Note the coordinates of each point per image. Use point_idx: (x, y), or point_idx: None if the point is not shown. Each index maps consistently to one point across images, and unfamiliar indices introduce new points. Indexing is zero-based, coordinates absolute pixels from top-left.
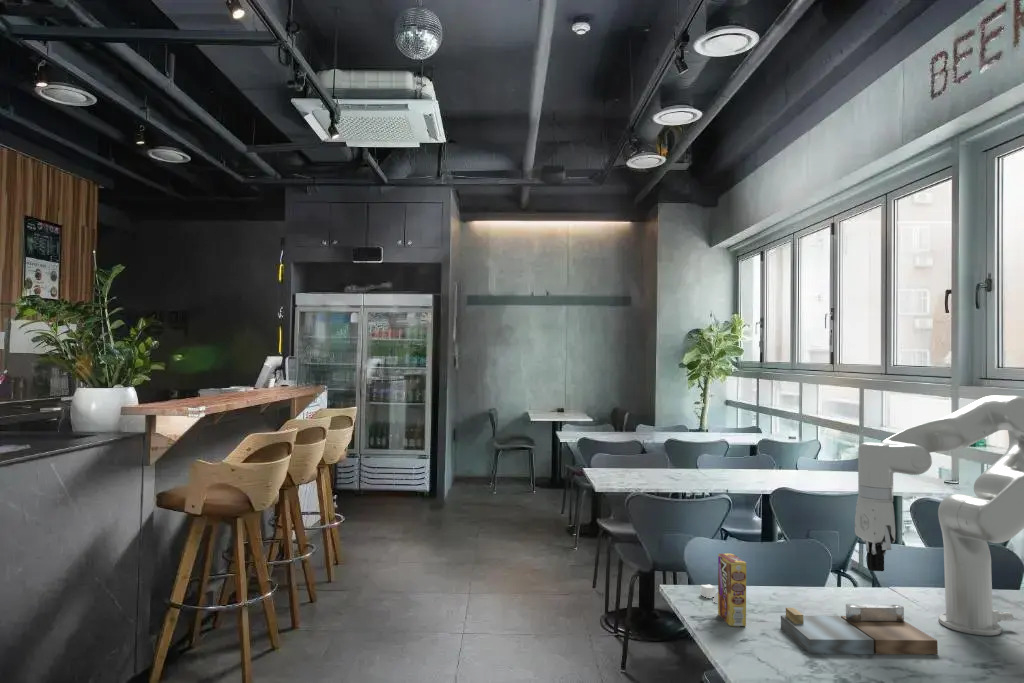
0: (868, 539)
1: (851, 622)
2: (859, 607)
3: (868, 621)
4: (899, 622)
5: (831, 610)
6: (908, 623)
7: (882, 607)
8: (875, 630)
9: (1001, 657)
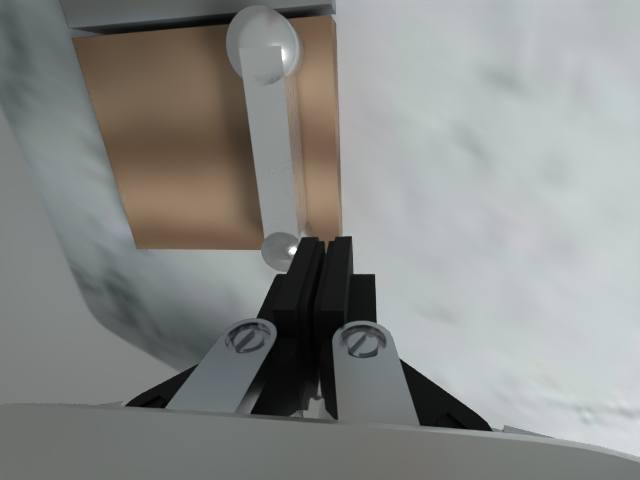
0: (89, 423)
1: None
2: (241, 71)
3: None
4: None
5: (558, 89)
6: None
7: (259, 185)
8: (174, 91)
9: (182, 354)
